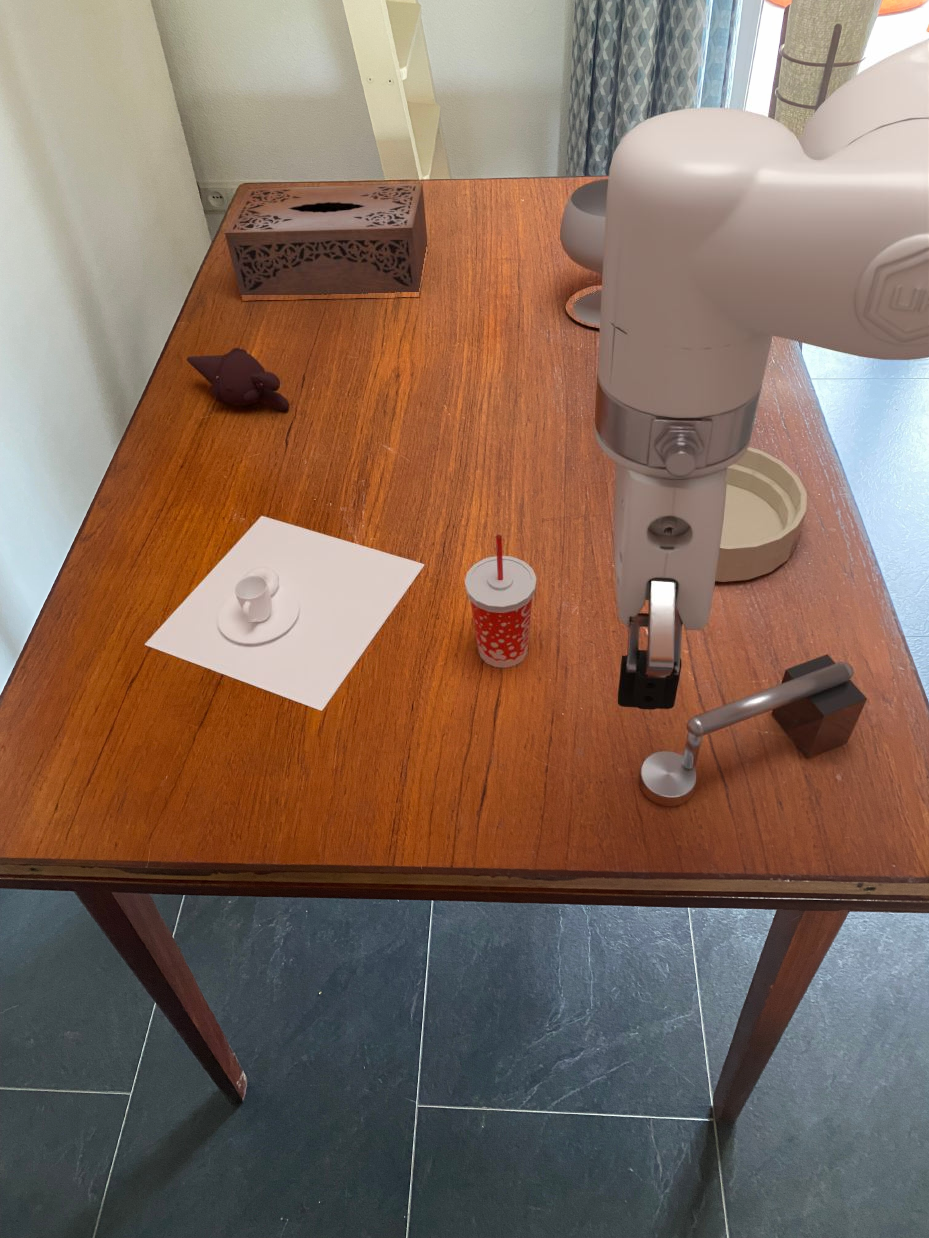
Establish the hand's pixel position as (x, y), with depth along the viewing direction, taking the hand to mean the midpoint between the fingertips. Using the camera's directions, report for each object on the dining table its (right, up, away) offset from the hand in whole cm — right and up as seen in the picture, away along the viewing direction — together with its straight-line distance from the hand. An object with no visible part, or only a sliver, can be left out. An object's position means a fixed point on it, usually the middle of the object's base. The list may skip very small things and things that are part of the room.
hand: (643, 640), depth 56 cm
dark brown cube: (+18, -8, +20) cm, 28 cm away
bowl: (+14, +11, +37) cm, 41 cm away
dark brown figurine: (-39, +29, +58) cm, 76 cm away
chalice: (+9, +43, +68) cm, 81 cm away
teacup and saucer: (-28, +3, +34) cm, 44 cm away
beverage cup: (-8, -2, +28) cm, 29 cm away
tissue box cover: (-30, +52, +79) cm, 99 cm away
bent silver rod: (+12, -10, +19) cm, 24 cm away
